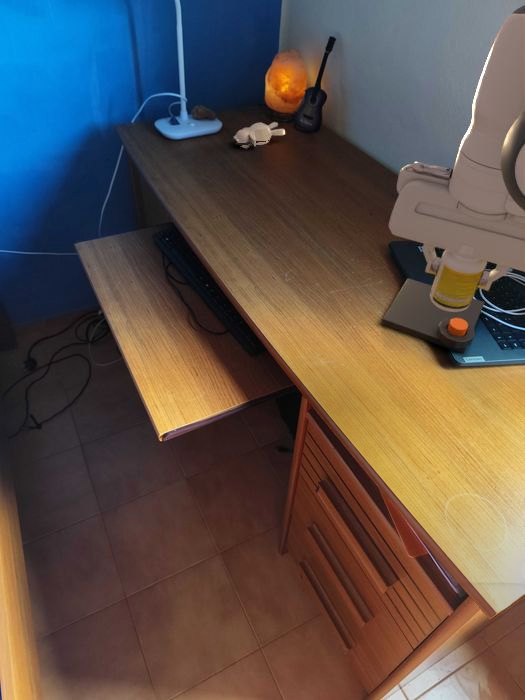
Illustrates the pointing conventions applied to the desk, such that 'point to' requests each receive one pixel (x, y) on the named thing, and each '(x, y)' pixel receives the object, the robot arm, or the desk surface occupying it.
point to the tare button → (457, 327)
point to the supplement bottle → (457, 279)
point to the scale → (429, 317)
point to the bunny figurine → (257, 134)
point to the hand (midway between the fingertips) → (457, 279)
